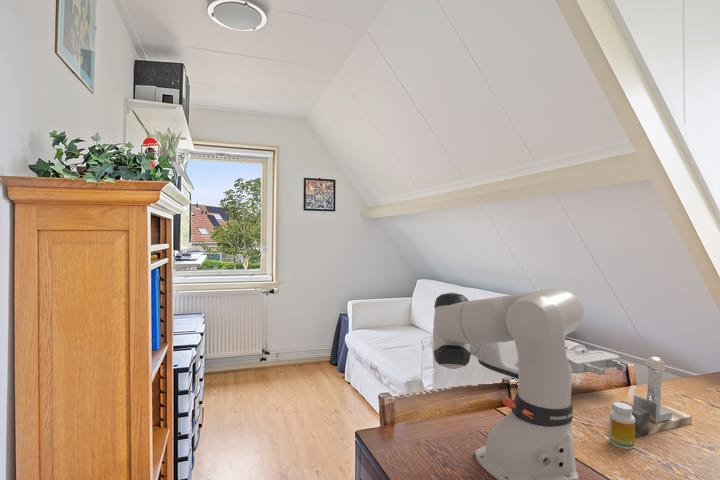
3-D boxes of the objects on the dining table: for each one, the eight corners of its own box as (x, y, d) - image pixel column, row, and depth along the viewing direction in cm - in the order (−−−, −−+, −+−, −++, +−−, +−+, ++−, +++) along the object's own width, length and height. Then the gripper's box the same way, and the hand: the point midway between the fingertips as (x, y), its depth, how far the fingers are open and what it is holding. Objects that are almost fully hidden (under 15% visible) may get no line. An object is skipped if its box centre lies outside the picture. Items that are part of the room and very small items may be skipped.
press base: (638, 437, 102) (639, 414, 102) (612, 424, 109) (612, 403, 108) (691, 423, 110) (692, 402, 110) (664, 411, 117) (665, 391, 116)
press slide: (655, 423, 105) (658, 361, 105) (633, 412, 111) (635, 354, 110) (671, 418, 108) (674, 359, 107) (648, 409, 113) (651, 352, 113)
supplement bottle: (638, 451, 96) (640, 411, 96) (613, 448, 97) (615, 409, 97) (628, 439, 101) (629, 402, 101) (604, 436, 102) (606, 399, 102)
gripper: (595, 361, 136) (636, 376, 124) (550, 368, 129) (589, 385, 116) (596, 343, 136) (637, 356, 123) (551, 349, 129) (590, 363, 116)
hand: (613, 370), depth 120 cm, fingers open, 8 cm apart
